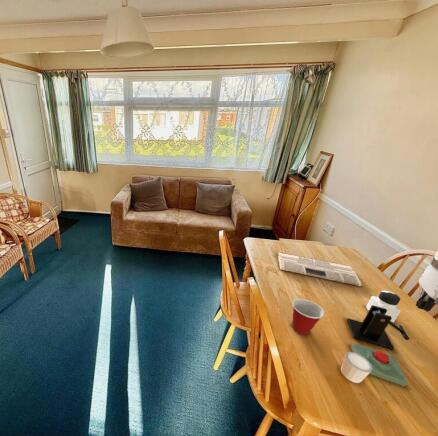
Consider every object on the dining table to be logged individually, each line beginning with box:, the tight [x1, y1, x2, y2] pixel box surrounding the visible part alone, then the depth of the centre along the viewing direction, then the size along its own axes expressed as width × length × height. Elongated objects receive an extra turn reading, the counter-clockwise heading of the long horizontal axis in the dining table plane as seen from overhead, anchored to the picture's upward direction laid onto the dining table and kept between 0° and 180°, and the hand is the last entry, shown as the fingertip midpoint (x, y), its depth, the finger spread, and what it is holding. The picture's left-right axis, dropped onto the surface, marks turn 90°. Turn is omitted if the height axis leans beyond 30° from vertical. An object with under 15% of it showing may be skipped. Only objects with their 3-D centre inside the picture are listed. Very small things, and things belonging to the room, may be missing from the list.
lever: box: [373, 309, 410, 341], centre depth 88 cm, size 12×6×2 cm
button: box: [373, 350, 389, 364], centre depth 80 cm, size 4×4×2 cm
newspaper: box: [277, 252, 362, 287], centre depth 132 cm, size 37×19×3 cm, turn 68°
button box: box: [350, 342, 409, 387], centre depth 81 cm, size 12×10×4 cm
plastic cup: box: [291, 298, 325, 335], centre depth 93 cm, size 11×11×12 cm
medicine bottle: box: [365, 290, 402, 324], centre depth 100 cm, size 7×7×12 cm
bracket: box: [346, 305, 395, 351], centre depth 91 cm, size 12×10×13 cm
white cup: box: [340, 351, 372, 384], centre depth 77 cm, size 7×7×7 cm
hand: (422, 308), depth 82 cm, fingers closed
